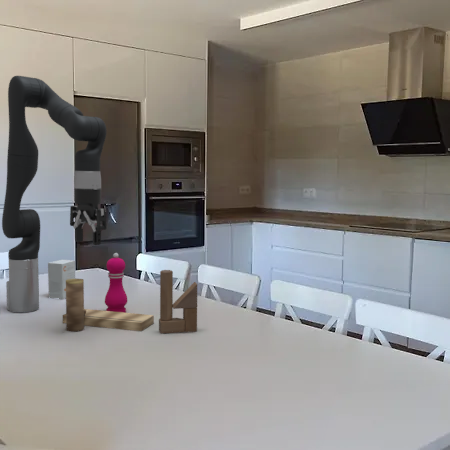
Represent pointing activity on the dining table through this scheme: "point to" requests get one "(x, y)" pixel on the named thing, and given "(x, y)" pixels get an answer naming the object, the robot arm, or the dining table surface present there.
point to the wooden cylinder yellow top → (75, 305)
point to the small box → (60, 277)
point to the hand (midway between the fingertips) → (87, 243)
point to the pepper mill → (116, 285)
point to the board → (116, 320)
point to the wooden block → (176, 306)
